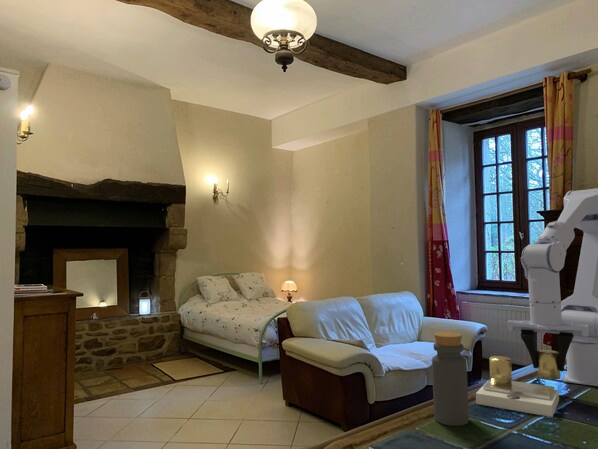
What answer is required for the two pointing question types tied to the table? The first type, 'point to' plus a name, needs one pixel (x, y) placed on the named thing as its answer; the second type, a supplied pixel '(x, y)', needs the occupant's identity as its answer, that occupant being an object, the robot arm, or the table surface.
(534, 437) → the table surface
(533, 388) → the scale pan
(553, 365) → the cylinder
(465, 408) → the bottle
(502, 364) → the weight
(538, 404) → the scale
